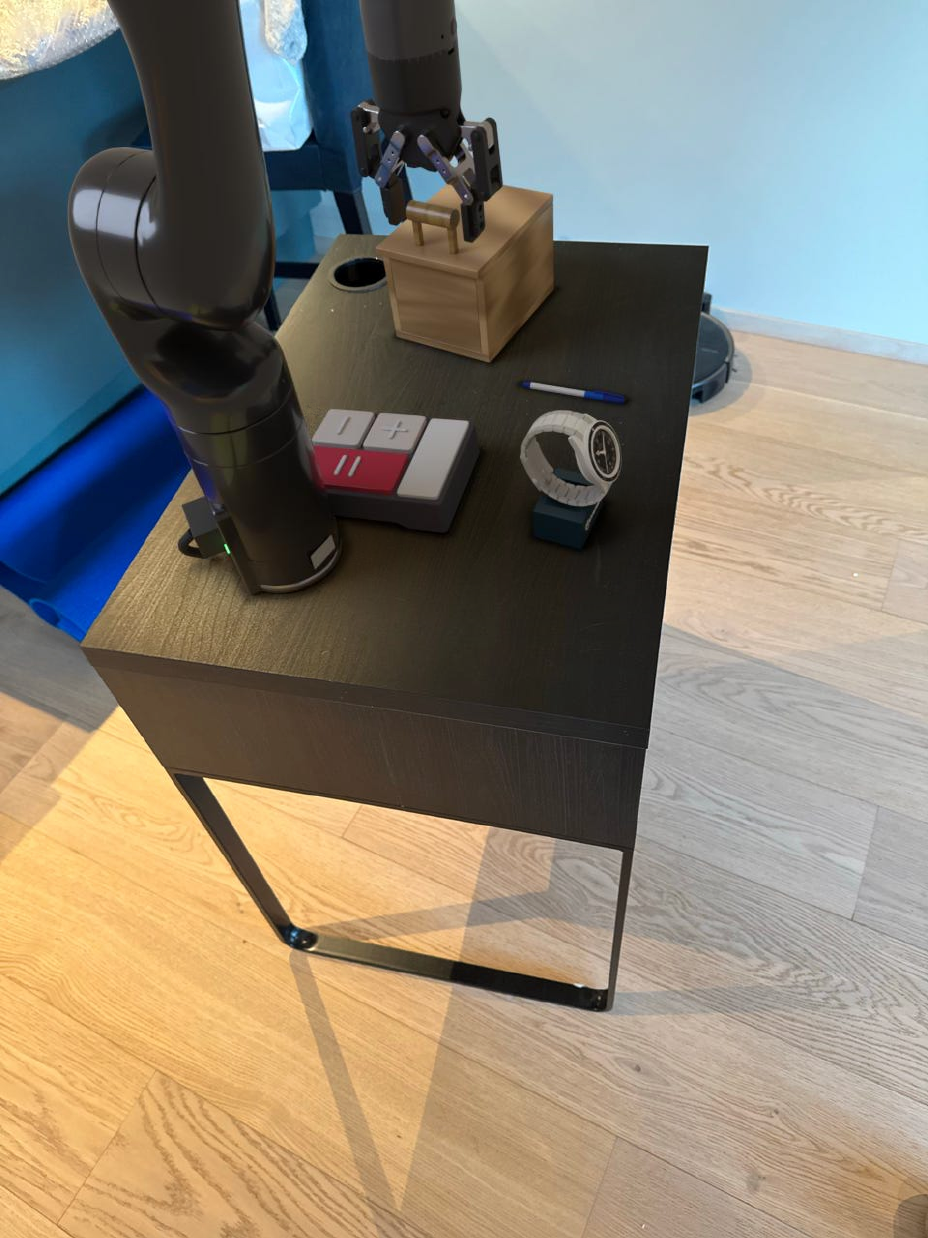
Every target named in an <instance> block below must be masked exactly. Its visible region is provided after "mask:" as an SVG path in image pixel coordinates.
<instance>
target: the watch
mask: <svg viewBox="0 0 928 1238" xmlns="http://www.w3.org/2000/svg"><path fill="white" fill-rule="evenodd" d="M543 432H544V433H547V432H550V433H551V432H555V433H560V434H562V433H563V434H564V435H567V436H569V437H568V443H569V444H570V446H571V447H572V449H573V450H574V454H575V458H576V464H577V466H578V469H579V471H580V472H575V471H571V470H566V469H562V468H558V467H556V468H555V470H554V468H553V467H552V466H551V465H550V463H549V461H548V460H547V458H546V456H545V455H544V453H543V451H542V449H541V446H540V443H539V442H538V441H537V437H536V435H538V434H542V433H543ZM622 457H623V456H622V449H621V444H620V440H619V437H618V435H617V433H616V432H615V430H614V428H613V427H612V426H611V425H610V424H609V423H608V422H607V421H605V420H601V419H600V420H598V419H596V418H595V417H593V416H592V415H589V414H588V413H580V412H577V411H573V410H567V409H565V410H564V409H563V410H562V409H560V410H552V411H548V412H546V413H544V414H542V415H540V416H539V417H538V418H536V420H535V421H534V422H533V423H532V425H531V426H530V428H529V430H528V431H527V434H526V435H525V437H523V439H522V442H521V445H520V455H519V458H520V461H521V464H522V466H523V468H524V470H525V473H526V475H527V476H528V478H529V479H530V480H531V482H532V484H533V485H534V486H535V487H536V488H537V490H538V491H539V492H541V491H542V494H541V495H540V497H539V499H538V501H537V503H536V504H535V506H534V507H533V510H532V519H533V520H532V524H533V525H532V527H533V528H532V529H533V537H534V538H538V539H542V540H545V541H548V542H553V543H557V544H559V545H564V546H568V547H571V548H575V549H579V550H582V549H583V547H584V545H585V543H586V541H587V538H588V537H589V535H590V533H591V531H592V528H593V526H594V524H595V522H596V520H597V518H598V516H599V513H600V511H601V510H602V508H603V506H604V498H605V497H606V495H607V494H608V493H609V490H610V488H611V486H612V485H613V482H615V481H616V480H617V479H618V477H619V475H620V472H621V469H622V460H623V459H622Z"/></svg>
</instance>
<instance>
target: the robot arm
mask: <svg viewBox="0 0 928 1238" xmlns="http://www.w3.org/2000/svg"><path fill="white" fill-rule="evenodd" d="M240 1H241V0H106V2H107V4H108V6H109V8H110V10H111V12H112V14H113V16H114V18H115V21H116V22H117V24H118V27H119V28H120V32H121V34H122V36H123V38H124V41H125V43H126V45H127V48H128V51H129V55H130V57H131V59H132V63H133V65H134V69H135V71H136V77H137V79H138V83H139V86H140V90H141V94H142V95H141V96H142V99H143V105H144V109H145V114H146V119H147V124H148V130H149V136H150V140H151V141H150V142H151V147H152V148H151V150H150V149H144V148H138V147H127V146H122V147H111V148H107V149H105V150H102V151H100V152H98V153H96V154H95V155H92V157H90V158H89V159H87V160H86V161H85V163H84V164H82V166H81V167H80V168H79V170H78V171H77V173H76V175H75V177H74V180H73V182H72V185H71V187H70V191H69V195H68V200H67V201H68V202H67V225H68V226H67V227H68V235H69V240H70V244H71V248H72V252H73V255H74V258H75V261H76V265H77V266H78V270H79V272H80V275H81V277H82V279H83V281H84V283H85V285H86V287H87V289H88V292H89V294H90V296H91V297H92V299H93V302H94V303H95V305H96V307H97V309H98V310H99V311H98V312H99V313H100V314H101V316H102V318H103V320H104V322H105V324H106V325H107V327H108V330H109V331H110V333H111V334H112V336H113V338H114V340H115V342H116V344H117V345H118V347H119V349H120V351H121V354H122V355H123V357H124V358H125V361H126V362H127V364H128V365H129V367H130V369H131V371H132V372H133V374H134V375H135V377H136V378H137V379H138V381H139V382H140V383H141V384H142V385H143V386H144V387H145V389H146V390H147V391H148V392H149V393H151V394H152V395H153V396H154V397H155V398H156V399H158V401H159V402H160V404H161V406H162V408H163V410H164V412H165V414H166V417H168V420H169V422H170V425H171V426H172V429H173V430H174V433H175V435H176V437H177V439H178V441H179V443H180V445H181V448H182V450H183V452H184V454H185V456H186V458H187V461H188V463H189V465H190V467H191V469H192V471H193V474H194V476H195V478H196V480H197V483H198V485H199V487H200V489H201V491H202V493H203V496H201V497H199V498H195V499H193V500H190V501H187V502H185V503H183V504H181V508H182V511H183V514H184V516H185V519H186V522H187V525H188V529H187V530H186V531H185V533H183V535H182V536H180V538H179V539H178V541H177V549H178V551H179V552H180V553H181V554H182V555H184V556H186V557H190V558H195V559H201V560H207V559H210V558H213V557H215V556H218V555H220V554H223V553H225V552H227V554H230V557H231V558H232V561H233V563H234V565H235V567H236V569H237V571H238V574H239V575H240V578H241V580H242V582H243V584H244V586H245V588H246V591H247V593H248V594H249V595H251V596H252V595H254V594H257V593H260V592H266V593H272V594H273V593H275V594H282V593H284V594H285V593H290V592H295V591H299V590H302V589H305V588H309V587H310V586H312V585H314V584H316V583H318V582H319V581H321V580H322V579H324V578H325V577H326V576H327V575H329V573H330V572H331V571H332V570H333V569H334V567H335V566H336V565H337V563H338V561H339V560H340V557H341V555H342V551H343V537H342V534H341V531H340V528H339V525H338V523H337V520H336V517H335V515H333V512H332V508H331V505H330V502H329V498H328V495H327V492H326V488H325V485H324V482H323V479H322V475H321V472H320V469H319V465H318V462H317V459H316V456H315V452H314V449H313V446H312V442H311V440H312V438H311V437H310V436H311V435H310V433H309V429H308V426H307V423H306V420H305V416H304V413H303V410H302V406H301V403H300V400H299V397H298V394H297V390H296V386H295V384H294V383H295V382H294V381H293V376H292V373H291V371H290V368H289V364H288V361H287V358H286V355H285V352H284V350H283V348H282V346H281V344H280V342H279V341H278V340H277V339H276V337H274V335H273V334H272V333H271V332H270V331H269V330H267V329H266V328H265V327H263V326H262V325H260V324H259V323H258V322H256V321H255V320H256V319H257V318H258V317H259V315H260V314H261V313H262V312H263V310H264V307H265V306H266V304H267V302H268V300H269V297H270V294H271V291H272V288H273V287H272V286H273V283H274V277H275V270H276V260H277V242H276V241H277V239H276V237H277V236H276V223H275V215H274V208H273V200H272V195H271V194H272V193H271V188H270V184H269V176H268V171H267V165H266V159H265V154H264V149H263V143H262V137H261V131H260V126H259V120H258V114H257V108H256V103H255V96H254V91H253V84H252V79H251V73H250V68H249V62H248V60H249V59H248V55H247V49H246V41H245V34H244V27H243V19H242V9H241V2H240ZM358 1H359V11H360V13H359V14H360V20H361V25H362V33H363V38H364V44H365V45H364V46H365V51H366V57H367V63H368V69H369V74H370V80H371V87H372V94H373V99H372V98H370V97H369V98H366V99H365V100H364V101H362V102H361V103H359V104H358V105H356V107H354V108H353V109H351V110H350V112H349V116H350V123H351V131H352V137H353V145H354V152H355V159H356V165H357V166H356V167H357V172H358V174H359V175H360V177H362V178H368V177H369V178H371V179H372V180H374V182H375V184H376V186H377V187H379V192H380V200H381V205H382V210H383V214H384V216H385V218H386V219H387V222H388V224H389V225H390V226H395V227H399V226H400V225H401V224H402V223H403V222H404V221H405V220H406V219H407V217H406V207H407V205H406V200H405V194H404V193H405V192H404V187H403V179H402V178H399V177H398V176H399V175H400V173H401V171H402V170H403V167H404V165H405V164H406V168H409V169H418V168H421V169H423V170H425V171H428V172H431V173H437V172H438V173H439V175H440V177H441V179H442V180H443V181H444V183H445V184H448V185H452V186H453V188H454V189H455V191H456V192H457V194H458V195H459V197H460V198H461V200H462V201H463V202H462V203H461V204H460V206H461V217H462V227H463V237H464V241H465V242H470V243H473V242H474V241H475V240H476V239H477V238H478V237H479V236H480V234H481V233H482V232H483V231H484V229H485V216H484V215H485V213H484V202H487V201H488V200H489V199H490V198H491V197H492V196H493V195H494V194H495V193H496V192H497V191H499V190H500V189H501V188H502V186H503V185H504V181H503V172H502V162H501V154H500V153H501V151H500V144H499V142H500V141H499V134H498V124H497V122H496V120H495V119H494V118H493V117H491V116H489V117H486V118H485V119H484V120H482V121H471V120H470V121H469V120H467V119H466V117H465V116H464V113H463V111H462V106H461V103H462V102H461V101H462V92H463V85H462V84H463V82H462V73H461V72H462V71H461V59H460V50H459V39H458V38H459V37H458V21H457V15H456V4H455V0H358ZM380 130H381V132H382V133H383V134H384V136H385V137H386V139H387V140H388V142H389V143H388V146H387V148H386V149H385V151H384V154H383V152H382V144H381V143H382V142H381V135H380V134H381V133H380ZM464 139H465V141H466V142H467V144H468V146H466V145H465V143H464V142H463V141H464ZM471 153H472V154H471ZM454 157H455V159H456V161H457V165H456V166H453V165H452V163H451V161H452V160H453V159H454ZM464 178H465V179H466V180H465V179H464ZM466 181H467V182H468V183H467V182H466ZM468 184H469V185H470V186H469V185H468ZM193 541H194V542H195V544H196V545H197V546H193V545H190V544H191V543H192V542H193Z"/></svg>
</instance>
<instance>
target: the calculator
mask: <svg viewBox="0 0 928 1238" xmlns="http://www.w3.org/2000/svg"><path fill="white" fill-rule="evenodd" d="M311 442H312V446H313V449H314V452H315V456H316V459H317V462H318V465H319V469H320V472H321V475H322V479H323V482H324V485H325V488H326V492H327V495H328V498H329V502H330V505H331V508H332V512H333V515H334V517H335V516H336V517H345V518H353V519H362V520H371V521H379V522H388V523H395V524H398V525H400V526H402V527H404V528H406V529H408V530H416V531H417V530H418V531H425V532H435V533H442V534H443V533H446V532H448V531H449V529H450V527H451V525H452V521H453V520H454V517H455V515H456V512H457V509H458V507H459V505H460V503H461V500H462V497H463V495H464V492H465V490H466V488H467V485H468V483H469V480H470V478H471V475H472V474H473V470H474V468H475V465H476V463H477V460H478V458H479V456H480V452H481V451H480V443H479V438H478V432H477V425H476V423H475V422H474V421H472V420H460V419H447V418H434V417H426V416H424V415H415V414H403V413H390V412H380V413H374V412H373V411H365V410H364V411H362V410H349V409H338V408H330V409H329V410H328V411H327V413H326V414H325V416H324V417H323V419H322V421H321V423H320V424H319V426H318V427H317V429H316V431H315V433H314V434H313V437H312V438H311Z"/></svg>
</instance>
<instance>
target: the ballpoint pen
mask: <svg viewBox="0 0 928 1238" xmlns="http://www.w3.org/2000/svg"><path fill="white" fill-rule="evenodd" d="M522 387H525V388H528V389H530V390H531V389H533V390H538V391H543V392H544V391H545V392H550V393H555V394H556V393H557V394H563V395H567V396H568V395H569V396H573V397H580V398H585V399H589V400H596V401H603V402H607V403H613V404H621V405H622V404H623V405H624V404H625V403H626V398H625V397H624V396H623V395H621V394H617V393H613V392H607V391H603V390H602V391H601V390H593V391H590V390H582V389H575V388H568V387H564V386H563V387H562V386H556V385H550V384H545V383H540V382H539V383H538V382H534V381H533V382H531V381H529V382H528V381H527V382H525V381H524V382H523V383H522Z"/></svg>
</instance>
